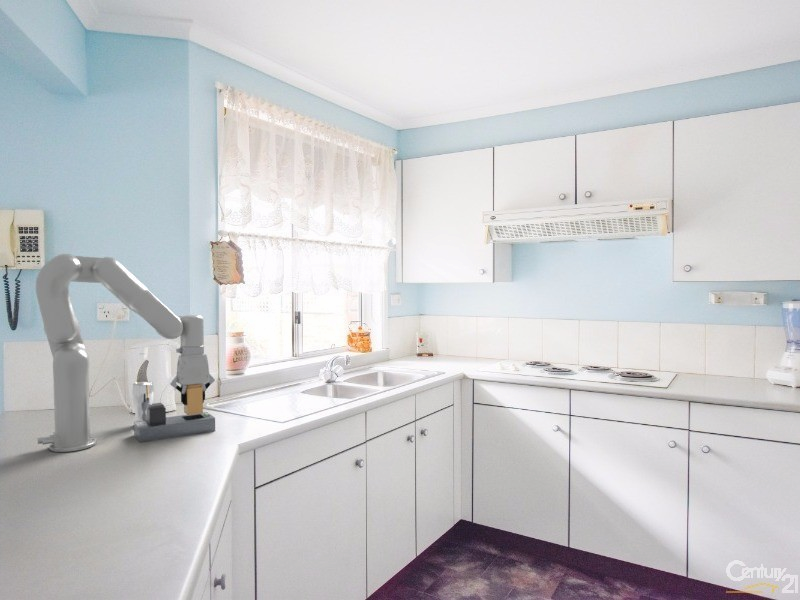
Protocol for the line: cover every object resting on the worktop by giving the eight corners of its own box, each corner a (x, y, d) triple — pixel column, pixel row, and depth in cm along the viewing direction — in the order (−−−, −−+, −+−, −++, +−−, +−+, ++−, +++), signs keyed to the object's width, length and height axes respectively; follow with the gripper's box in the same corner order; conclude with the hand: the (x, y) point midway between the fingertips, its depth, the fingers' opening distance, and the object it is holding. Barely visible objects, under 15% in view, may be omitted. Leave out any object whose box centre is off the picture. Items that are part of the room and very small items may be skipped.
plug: (187, 415, 190) (187, 386, 189) (184, 412, 194) (183, 383, 193) (202, 413, 193) (202, 384, 192) (198, 410, 197) (198, 382, 196)
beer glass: (158, 422, 203) (157, 381, 203) (147, 427, 196) (146, 385, 196) (139, 422, 204) (139, 381, 203) (128, 427, 197) (128, 385, 196)
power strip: (139, 442, 179) (138, 409, 179) (133, 435, 187) (133, 404, 187) (215, 430, 193) (214, 400, 192) (207, 424, 201) (206, 395, 201)
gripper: (168, 354, 184) (169, 408, 185) (220, 350, 194) (221, 402, 195) (163, 351, 191) (164, 404, 191) (214, 348, 200) (214, 398, 201)
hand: (193, 402), depth 193 cm, fingers closed on plug, 5 cm apart
